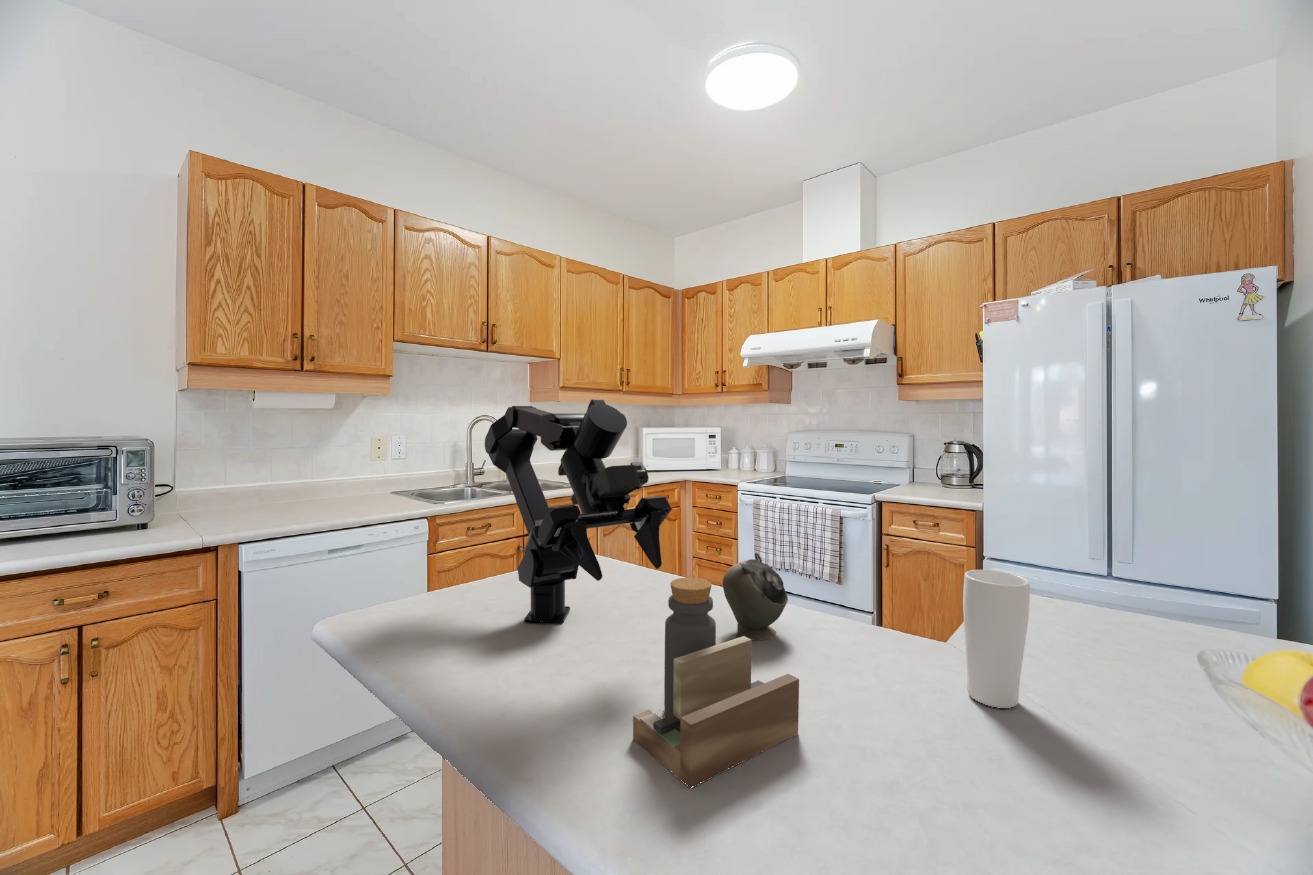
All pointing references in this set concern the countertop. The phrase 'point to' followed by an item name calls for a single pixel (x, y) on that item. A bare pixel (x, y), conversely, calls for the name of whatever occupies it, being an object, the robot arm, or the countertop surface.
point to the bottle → (686, 627)
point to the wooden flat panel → (708, 679)
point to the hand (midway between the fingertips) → (630, 572)
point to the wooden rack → (723, 731)
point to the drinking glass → (995, 635)
